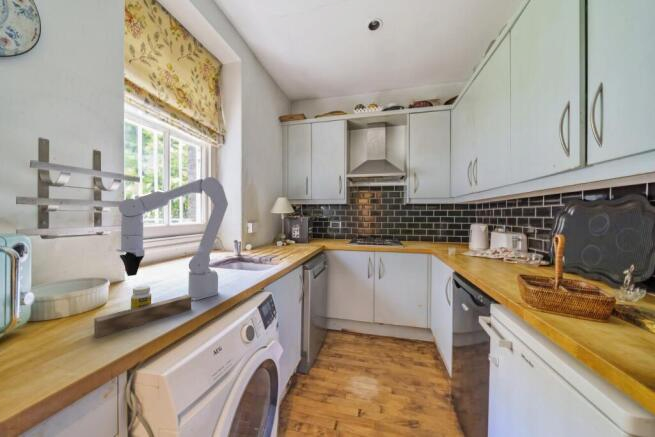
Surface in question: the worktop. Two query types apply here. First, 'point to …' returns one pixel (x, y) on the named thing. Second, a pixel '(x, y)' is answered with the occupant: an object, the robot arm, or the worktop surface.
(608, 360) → the worktop surface
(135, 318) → the walnut board
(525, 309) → the worktop surface
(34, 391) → the worktop surface
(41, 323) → the worktop surface
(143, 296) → the supplement bottle
